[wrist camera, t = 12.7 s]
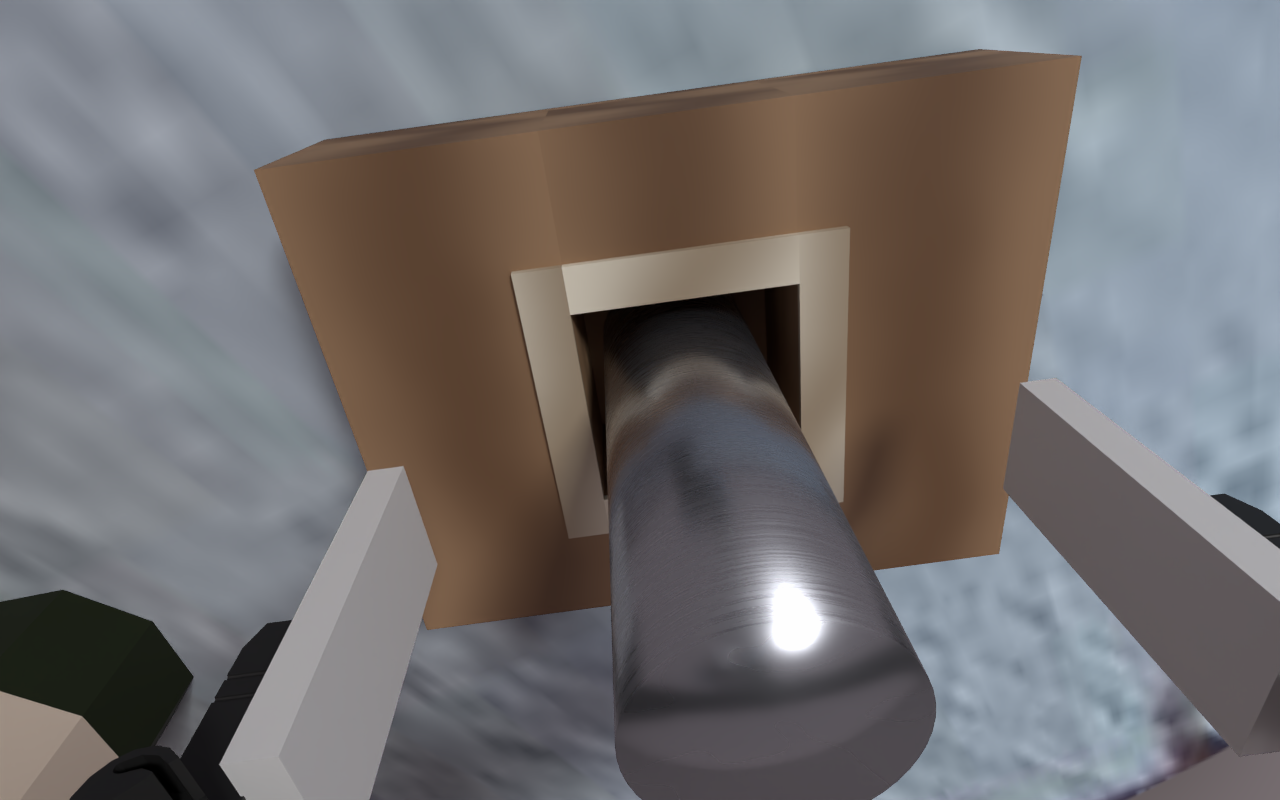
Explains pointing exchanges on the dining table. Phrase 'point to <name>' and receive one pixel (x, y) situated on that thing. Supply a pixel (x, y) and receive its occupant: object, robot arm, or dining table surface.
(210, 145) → the dining table surface
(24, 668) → the wine bottle
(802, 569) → the peg
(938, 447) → the socket
